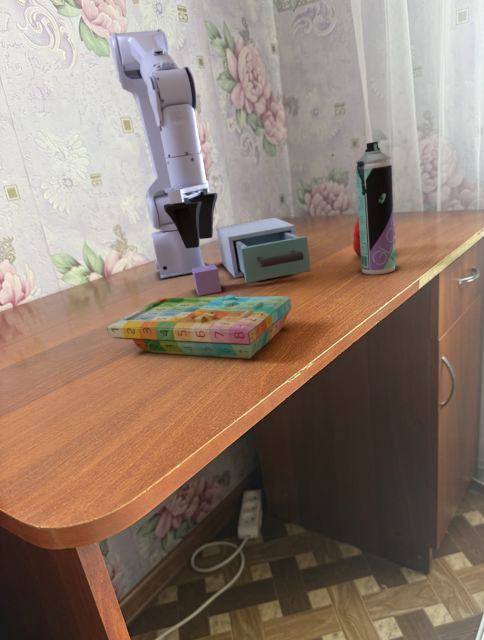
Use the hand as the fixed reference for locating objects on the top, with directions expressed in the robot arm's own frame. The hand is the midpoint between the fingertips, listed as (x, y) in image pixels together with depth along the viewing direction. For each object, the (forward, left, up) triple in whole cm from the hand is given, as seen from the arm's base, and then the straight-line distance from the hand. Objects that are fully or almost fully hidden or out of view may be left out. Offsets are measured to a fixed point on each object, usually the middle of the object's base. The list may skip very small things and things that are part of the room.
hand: (199, 242), depth 83 cm
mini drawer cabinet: (+12, +13, -8) cm, 20 cm away
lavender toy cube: (0, 0, -8) cm, 8 cm away
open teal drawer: (+12, +2, -8) cm, 14 cm away
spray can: (+28, -8, -9) cm, 30 cm away
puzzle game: (-4, -24, -9) cm, 26 cm away
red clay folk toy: (+32, +2, -9) cm, 33 cm away
